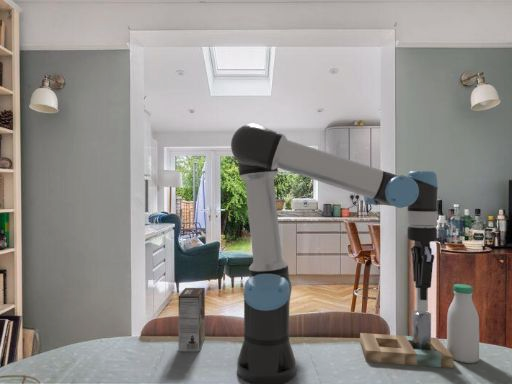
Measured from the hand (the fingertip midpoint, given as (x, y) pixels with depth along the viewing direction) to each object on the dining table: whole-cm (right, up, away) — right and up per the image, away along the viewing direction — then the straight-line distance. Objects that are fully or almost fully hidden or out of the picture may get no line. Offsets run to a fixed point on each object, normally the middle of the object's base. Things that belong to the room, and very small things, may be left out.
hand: (421, 310), depth 98 cm
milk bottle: (+11, -13, -1) cm, 17 cm away
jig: (-5, -13, +1) cm, 14 cm away
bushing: (0, -13, 0) cm, 13 cm away
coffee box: (-66, -13, +7) cm, 67 cm away
